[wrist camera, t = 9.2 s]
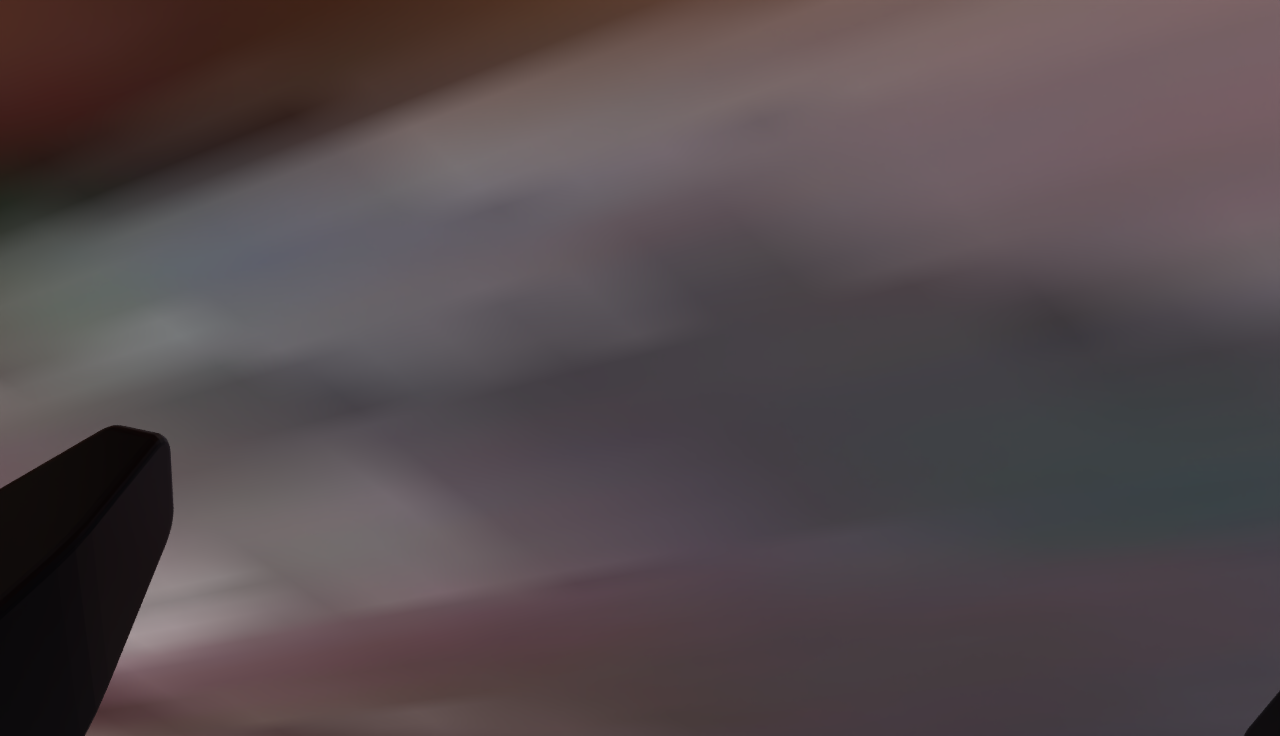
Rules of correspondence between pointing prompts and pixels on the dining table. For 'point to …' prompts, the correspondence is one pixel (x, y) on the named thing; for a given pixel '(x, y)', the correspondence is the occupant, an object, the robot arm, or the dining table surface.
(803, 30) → the dining table surface
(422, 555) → the dining table surface
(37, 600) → the robot arm
